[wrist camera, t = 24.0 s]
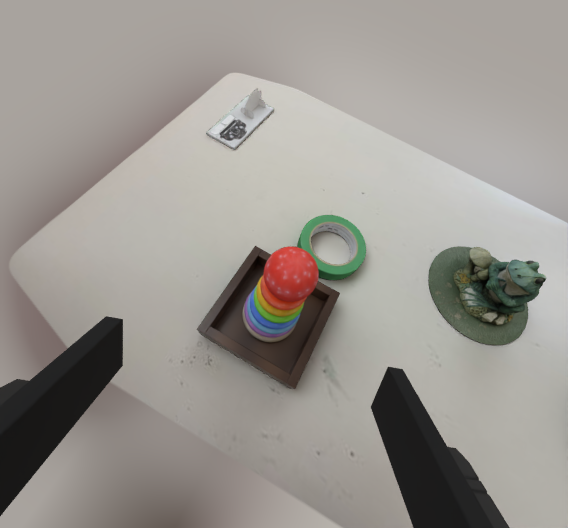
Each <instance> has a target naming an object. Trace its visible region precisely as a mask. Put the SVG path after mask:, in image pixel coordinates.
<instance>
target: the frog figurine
mask: <svg viewBox="0 0 568 528" xmlns="http://www.w3.org/2000/svg"><path fill="white" fill-rule="evenodd" d="M538 268H539V263H538V262H534V261H526V262H523V261H519V260H512V261H511V262H510V263H509V262H500V261H498V260H497V259H495V258H494V257H492V256H491V255H490V253H489V252H488V251H487V250H485V249H483V248H480V247H474V248H470V247H453V248H449V249H446V250H444V251H442V252H441V253H440V254H439V255H438V256H437V257H436V258H435V259H434V261H433V262H432V264H431V267H430V271H429V288H430V291H431V295H432V297H433V300H434V302H435V304H436V306H437V308H438V309H439V311H440V313H441V314H442V315H443V316H444V318H445V319H446V320H447V321H448V322H449V323H450V324H451V325H452V326H453V327H454V328H455V329H456V330H458V331H459V332H461V333H462V334H463V335H465V336H467V337H469V338H471V339H473V340H475V341H478V342H480V343H484V344H490V345H504V344H507V343H510V342H512V341H514V340H515V339H517V338H518V337H519V336H520V335H521V334H522V332H523V330H524V329H525V327H526V323H527V319H528V307H527V302H529V301H531V300H533V299H535V297H537V295H538V294H539V289H540V288H541V286H542V285H543V282H545V280H546V277H545V276H544V275H543V274H539V273H538V271H537V269H538Z"/></svg>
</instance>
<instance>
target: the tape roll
mask: <svg viewBox="0 0 568 528" xmlns="http://www.w3.org/2000/svg"><path fill="white" fill-rule="evenodd" d="M321 231H331V232H334V233H337V234H339V235H340V236H342V237H343V238H344V239H345V240H346V242H347V243H348V245H349V248H350V251H351V257H350V260H349V262H347V263H344V264H339V265H336V264H330V263H327V262H325V261H323V260H321V259H320V258H319V257H318V256H317V255H316V254H315V252H314V251H313V249H312V246H311V242H312V241H311V237H312V236H313V235H314V234H316V233H318V232H321ZM298 248H301V249H303V250H305V251H307V252H308V253H309V254H310V255H311V256H312V257H313V258H314V260H315V261H316V263H317V266H318V271H319V277H320V278H323V279H327V280H340V279H344V278H346V277H348V276H350V275H351V274H352V273H353V272H355V271H356V269H357V268H358V267H359V266H360V265H361V264H362V262H363V260H364V258H365V254H366V245H365V241H364V238H363V236H362V234H361V233H360V231H359V230H358V229H357V227H356V226H354V225H353V224H352V223H351V222H349V221H348V220H346V219H344V218H342V217H338V216H334V215H323V216H318V217H316V218H314V219H312V220H310V221H309V222H308V223H307V224H306V225H305V227H304V228H303V230H302V233H301V235H300V238H299V241H298Z"/></svg>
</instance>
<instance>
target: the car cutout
mask: <svg viewBox="0 0 568 528" xmlns="http://www.w3.org/2000/svg"><path fill="white" fill-rule="evenodd" d="M273 111H274V108H272V107H271V106H269V105H267V104H265V102H264V101H263V100H262V97H261V91H258V89H256V90H254V91H253V92H252V93H251V94H250V95H248V96H246V97H245V98H244V99H243V100H242V101H241V102H240V103H239V104H237V105H236V106H235V107H234V108H233V109H232V110H231V111H230V112H228V113H227V114H226V115H225V116H224V117H223V118H222V119H221V120H219V121H218V122H217V123H216V124H215V125H214V126H213V127H212V128H210V129H209V130H208V131H207V132H206V134H207V135H208V136H210V137H212V138H214V139H216V140H217V141H219V142H221V143H223V144H225V145H226V146H228V147H230V148H232V149H234V150H235V149H236V148H237V147H238V146H239V145H240V144H241V143H242V142H243V141H244V140H245V139H246V138H247V137H248V136H249V135H250V134H251V133H252V132H253V131H254V130H255V129H256V128H257V127H258V126H259V125H260V124H261V123H262V122H263V121H264V120H265V119H266V118H267V117H268V116H269V115H270V114H271V113H272V112H273Z"/></svg>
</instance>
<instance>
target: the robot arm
mask: <svg viewBox="0 0 568 528" xmlns="http://www.w3.org/2000/svg"><path fill="white" fill-rule="evenodd" d="M122 366H123V319H118V318H113V317H107V316H106V317H105V318H104V319H102V320H101V321H100V322H99V323H98V324H96V325H95V326H94V327H93V328H92V329H91V330H89V331H88V332H87V333H86V334H85V335H83V336H82V337H81V338H80V339H79V340H77V341H76V342H75V343H74V344H73V345H72V346H70V347H69V348H68V349H67V350H66V351H64V352H63V353H62V354H61V355H60V356H58V357H57V358H56V359H55V360H54V361H53V362H51V363H50V364H49V365H48V366H47V367H46V368H44V369H43V370H42V371H41V372H40V373H38V374H37V375H36V376H35V377H34V378H32V379H31V380H30V381H25V380H20V379H16V380H14V381H13V382H11V383H8V384H7V385H5V386H3V387H1V388H0V516H1V515H2V513H3V512H4V511H5V510H6V508H7V507H8V506H9V505H10V503H11V502H12V501H13V500H14V499H15V497H16V496H17V495H18V494H19V492H20V491H21V490H22V489H23V487H24V486H25V485H26V484H27V483H28V481H29V480H30V479H31V478H32V476H33V475H34V474H35V473H36V471H37V470H38V469H39V468H40V466H41V465H42V464H43V463H44V462H45V460H46V459H47V458H48V457H49V455H50V454H51V453H52V451H54V449H55V448H56V447H57V446H58V444H59V443H60V442H61V441H62V439H63V438H64V437H65V436H66V434H67V433H68V432H69V431H70V430H71V428H72V427H73V426H74V425H75V423H76V422H77V421H78V420H79V418H80V417H81V416H82V415H83V414H84V412H85V411H86V410H87V409H88V407H89V406H90V405H91V404H92V403H93V401H94V400H95V399H96V398H97V396H98V395H99V394H100V393H101V391H102V390H103V389H104V388H105V386H106V385H107V384H108V383H109V382H110V380H111V379H112V378H113V377H114V375H115V374H116V373H117V372H118V371H119V369H120V368H121V367H122ZM371 409H372V412H373V415H374V418H375V420H376V423H377V426H378V429H379V432H380V434H381V437H382V440H383V443H384V446H385V449H386V451H387V454H388V457H389V460H390V463H391V465H392V468H393V471H394V474H395V477H396V480H397V482H398V485H399V488H400V491H401V494H402V496H403V499H404V502H405V505H406V508H407V511H408V513H409V516H410V519H411V522H412V525H413V527H414V528H509V526H508V525H507V523H506V521H505V520H504V518H503V517H502V515H501V513H500V512H499V510H498V508H497V507H496V505H495V504H494V502H493V500H492V499H491V497H490V496H489V495H488V494H487V491H486V489H485V487H484V486H483V484H482V483H481V481H479V478H478V476H477V475H476V473H475V471H474V470H473V468H472V466H471V465H470V463H469V462H468V461H467V460H466V459H465V458H464V457H463V455H462V454H461V453H460V452H459V451H458V450H457V449H456V448H451V447H447V446H446V444H445V442H444V440H443V439H442V437H441V435H440V433H439V432H438V430H437V428H436V427H435V425H434V423H433V421H432V420H431V418H430V416H429V414H428V413H427V411H426V409H425V407H424V406H423V404H422V402H421V400H420V399H419V397H418V395H417V394H416V392H415V390H414V388H413V387H412V385H411V383H410V381H409V380H408V378H407V376H406V374H405V373H404V371H403V369H398V368H392V367H388V368H387V371H386V373H385V375H384V377H383V380H382V382H381V384H380V387H379V389H378V391H377V394H376V396H375V398H374V401H373V403H372V405H371Z"/></svg>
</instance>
